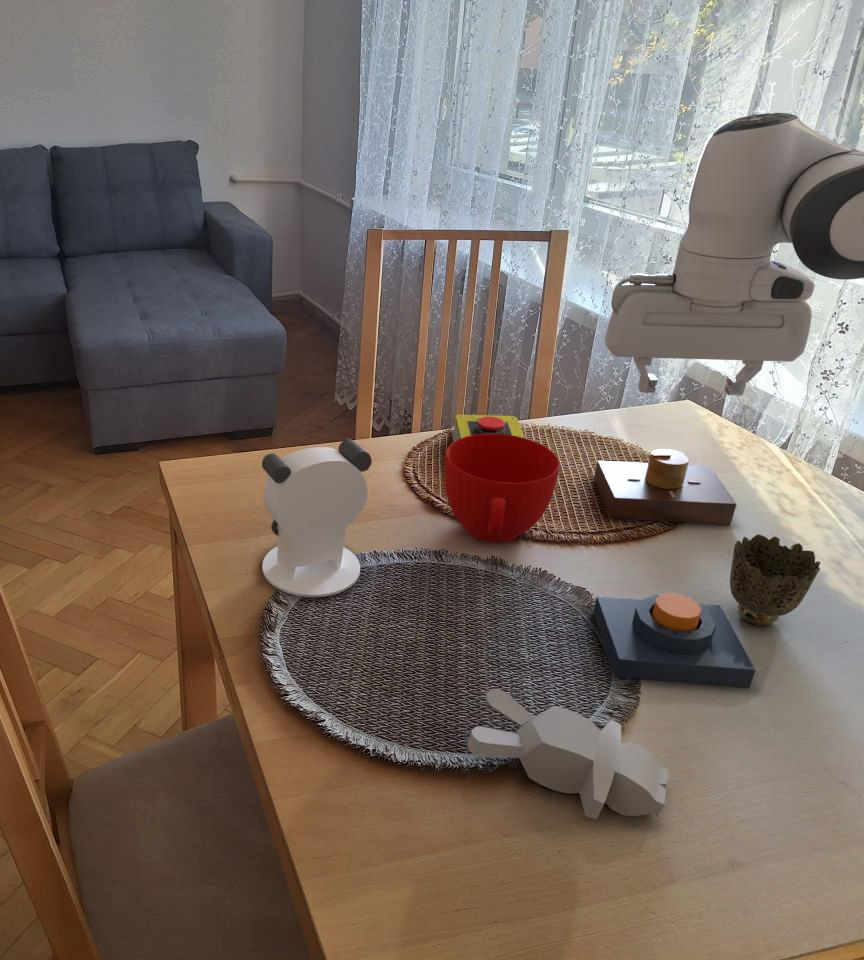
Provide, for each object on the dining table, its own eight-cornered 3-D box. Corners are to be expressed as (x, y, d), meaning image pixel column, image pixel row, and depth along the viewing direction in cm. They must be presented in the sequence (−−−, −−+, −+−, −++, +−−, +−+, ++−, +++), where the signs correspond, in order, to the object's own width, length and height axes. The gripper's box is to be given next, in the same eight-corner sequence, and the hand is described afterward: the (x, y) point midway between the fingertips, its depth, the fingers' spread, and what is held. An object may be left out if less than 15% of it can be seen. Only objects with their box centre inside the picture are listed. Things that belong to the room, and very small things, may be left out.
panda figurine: (337, 532, 107) (341, 423, 99) (383, 582, 97) (391, 465, 90) (248, 553, 103) (245, 441, 96) (286, 606, 94) (286, 487, 86)
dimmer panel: (704, 485, 114) (710, 464, 112) (730, 525, 105) (737, 502, 104) (593, 480, 116) (597, 459, 114) (610, 518, 107) (614, 496, 106)
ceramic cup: (430, 567, 99) (438, 493, 94) (442, 496, 113) (449, 428, 109) (549, 584, 96) (563, 507, 91) (546, 509, 110) (558, 438, 105)
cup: (704, 618, 90) (723, 555, 86) (729, 587, 94) (749, 526, 90) (784, 650, 85) (808, 585, 81) (806, 616, 89) (830, 553, 86)
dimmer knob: (674, 472, 111) (681, 446, 109) (689, 489, 107) (696, 462, 105) (639, 472, 111) (645, 446, 109) (652, 489, 107) (659, 462, 105)
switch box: (714, 621, 89) (724, 590, 87) (749, 688, 81) (761, 655, 79) (593, 613, 91) (599, 582, 89) (614, 677, 82) (622, 644, 81)
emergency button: (517, 404, 128) (535, 449, 115) (513, 430, 130) (531, 478, 117) (453, 402, 129) (464, 447, 116) (450, 429, 131) (461, 475, 118)
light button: (690, 608, 86) (694, 594, 85) (702, 634, 82) (707, 619, 81) (647, 605, 86) (651, 591, 85) (658, 630, 83) (662, 616, 82)
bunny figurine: (667, 817, 63) (469, 731, 69) (645, 859, 66) (456, 773, 72) (679, 733, 71) (498, 661, 76) (658, 774, 73) (485, 702, 79)
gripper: (623, 282, 92) (600, 399, 99) (832, 284, 89) (794, 406, 96) (610, 266, 98) (590, 379, 105) (807, 268, 94) (773, 385, 101)
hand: (689, 392), depth 100 cm, fingers open, 8 cm apart
